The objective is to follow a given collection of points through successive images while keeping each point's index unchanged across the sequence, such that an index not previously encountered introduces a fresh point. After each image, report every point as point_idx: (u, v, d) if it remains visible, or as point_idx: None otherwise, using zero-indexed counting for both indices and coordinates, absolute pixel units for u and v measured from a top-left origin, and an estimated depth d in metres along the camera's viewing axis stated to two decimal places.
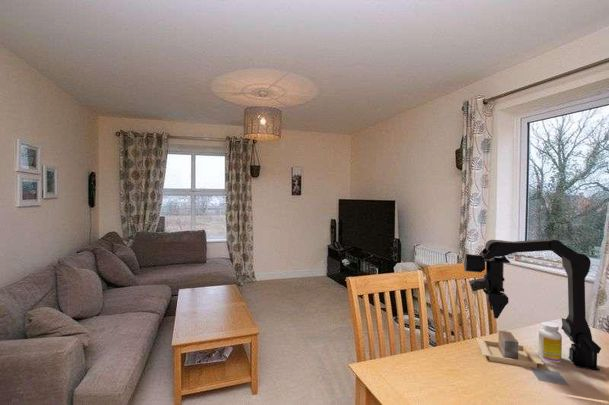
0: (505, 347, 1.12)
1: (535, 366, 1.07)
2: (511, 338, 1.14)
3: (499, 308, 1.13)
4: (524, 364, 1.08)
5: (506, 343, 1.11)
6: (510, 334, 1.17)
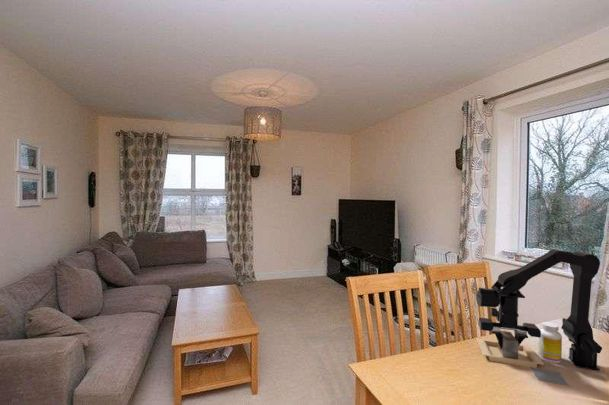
0: (505, 347, 1.12)
1: (535, 366, 1.07)
2: (511, 338, 1.14)
3: None
4: (524, 364, 1.08)
5: (506, 343, 1.11)
6: (510, 334, 1.17)
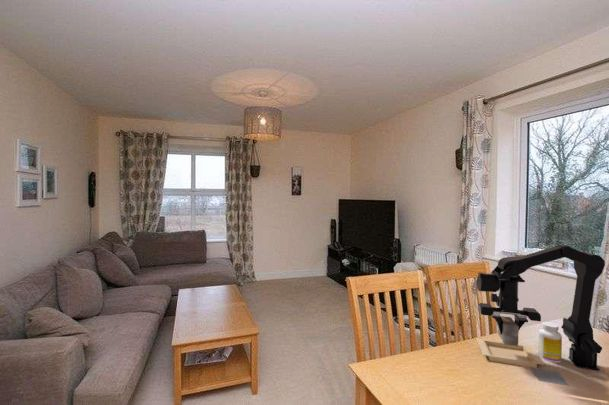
0: (505, 331, 1.11)
1: (535, 366, 1.07)
2: (511, 322, 1.14)
3: None
4: (524, 364, 1.08)
5: (506, 327, 1.11)
6: (510, 319, 1.17)
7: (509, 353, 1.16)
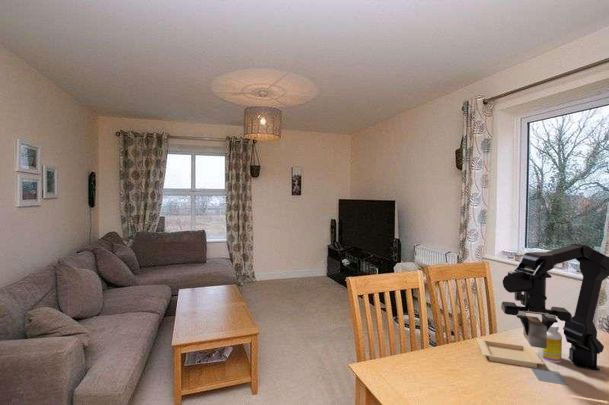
0: (532, 332, 1.03)
1: (535, 366, 1.07)
2: (538, 322, 1.05)
3: (523, 323, 1.07)
4: (524, 364, 1.08)
5: (533, 328, 1.02)
6: (537, 319, 1.08)
7: (509, 353, 1.16)
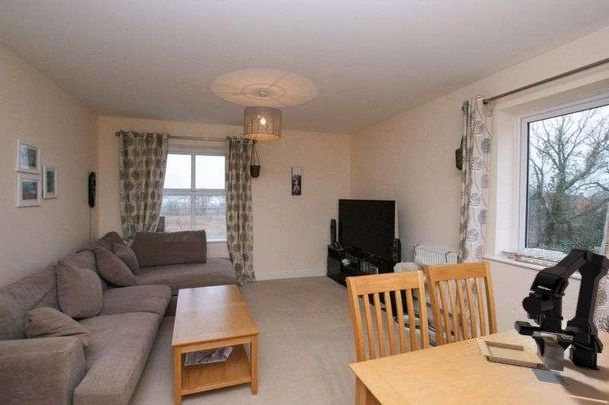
0: (548, 354, 0.98)
1: (535, 366, 1.07)
2: (554, 344, 1.00)
3: (538, 344, 1.02)
4: (524, 364, 1.08)
5: (549, 350, 0.98)
6: (552, 339, 1.03)
7: (509, 353, 1.16)
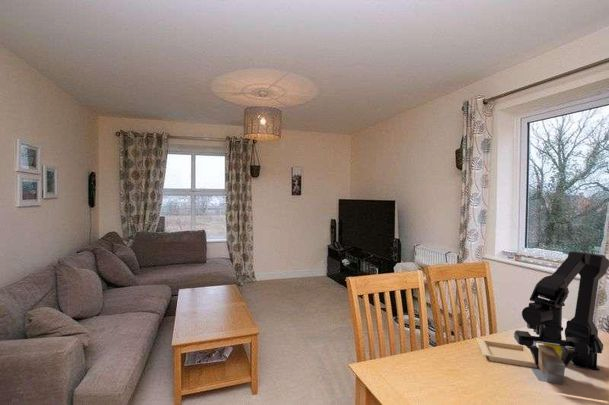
0: (549, 369, 0.98)
1: (535, 366, 1.07)
2: (555, 357, 0.99)
3: (533, 353, 1.03)
4: (524, 364, 1.08)
5: (550, 366, 0.97)
6: (553, 351, 1.02)
7: (509, 353, 1.16)
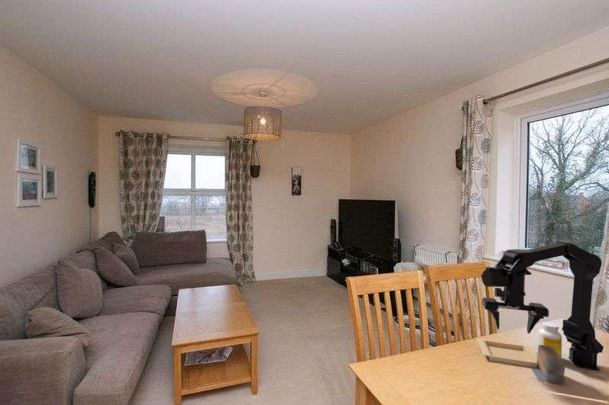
0: (549, 369, 0.98)
1: (535, 366, 1.07)
2: (555, 357, 0.99)
3: (494, 317, 1.10)
4: (524, 364, 1.08)
5: (550, 366, 0.97)
6: (553, 351, 1.02)
7: (509, 353, 1.16)
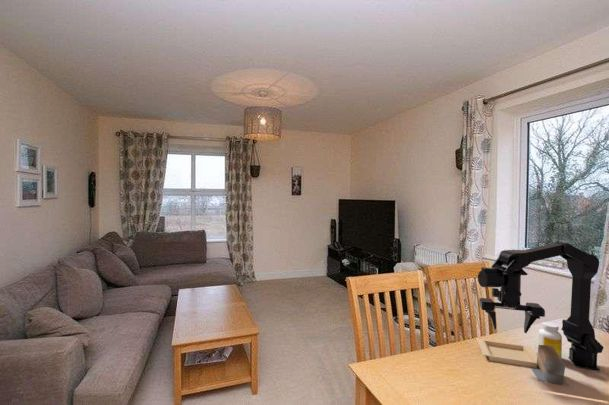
0: (549, 369, 0.98)
1: (535, 366, 1.07)
2: (555, 357, 0.99)
3: None
4: (524, 364, 1.08)
5: (550, 366, 0.97)
6: (553, 351, 1.02)
7: (509, 353, 1.16)
